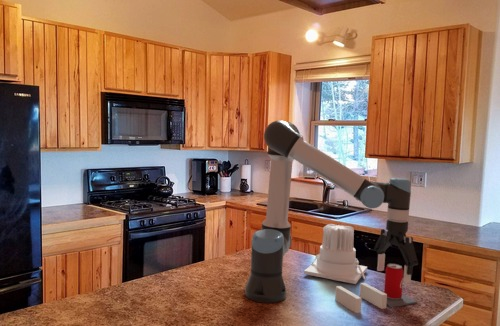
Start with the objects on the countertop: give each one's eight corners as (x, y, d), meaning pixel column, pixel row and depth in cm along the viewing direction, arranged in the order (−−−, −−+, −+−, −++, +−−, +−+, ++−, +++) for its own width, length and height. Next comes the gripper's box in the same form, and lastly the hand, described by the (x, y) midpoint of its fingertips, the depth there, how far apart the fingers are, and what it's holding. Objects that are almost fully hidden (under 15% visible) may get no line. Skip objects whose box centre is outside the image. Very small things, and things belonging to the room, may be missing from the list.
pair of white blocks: (356, 313, 139) (356, 298, 139) (335, 299, 150) (335, 286, 150) (386, 308, 144) (386, 294, 144) (363, 295, 155) (364, 282, 155)
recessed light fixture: (300, 275, 175) (302, 226, 174) (316, 263, 194) (318, 218, 193) (359, 287, 164) (362, 235, 162) (370, 273, 183) (373, 225, 182)
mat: (391, 307, 145) (391, 305, 145) (369, 294, 156) (369, 293, 156) (417, 303, 150) (417, 301, 150) (393, 291, 161) (393, 289, 161)
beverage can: (404, 297, 153) (406, 266, 152) (397, 302, 149) (399, 269, 148) (388, 292, 158) (390, 262, 157) (381, 296, 153) (382, 265, 152)
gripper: (432, 227, 141) (427, 287, 143) (382, 213, 164) (378, 265, 166) (415, 228, 138) (410, 289, 140) (367, 213, 161) (363, 266, 163)
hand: (393, 276), depth 153 cm, fingers open, 13 cm apart
